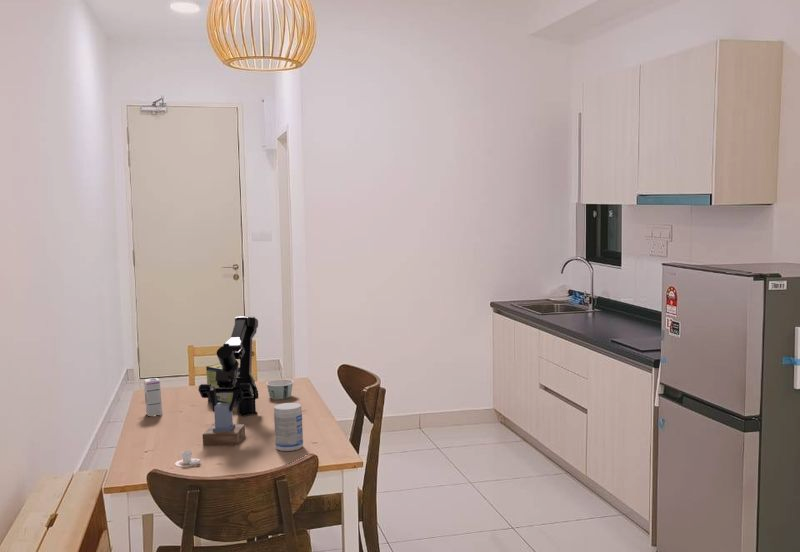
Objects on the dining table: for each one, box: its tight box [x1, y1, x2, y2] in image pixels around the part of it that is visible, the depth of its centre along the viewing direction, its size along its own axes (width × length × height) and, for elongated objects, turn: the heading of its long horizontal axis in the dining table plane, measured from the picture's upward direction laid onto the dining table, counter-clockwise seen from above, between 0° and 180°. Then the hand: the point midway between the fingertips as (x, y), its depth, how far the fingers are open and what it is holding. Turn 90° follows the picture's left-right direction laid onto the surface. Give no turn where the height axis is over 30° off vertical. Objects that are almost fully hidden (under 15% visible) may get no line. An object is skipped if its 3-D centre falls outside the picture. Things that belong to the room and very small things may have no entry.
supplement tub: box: [273, 402, 304, 452], centre depth 260 cm, size 10×10×15 cm
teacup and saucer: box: [174, 449, 202, 468], centre depth 247 cm, size 9×8×4 cm
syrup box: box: [143, 377, 163, 417], centre depth 305 cm, size 6×6×14 cm
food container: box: [265, 378, 294, 400], centre depth 330 cm, size 12×12×6 cm
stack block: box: [202, 423, 246, 446], centre depth 270 cm, size 12×12×4 cm
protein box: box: [205, 363, 240, 403], centre depth 324 cm, size 10×16×16 cm
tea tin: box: [213, 403, 236, 432], centre depth 270 cm, size 6×6×9 cm
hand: (222, 411), depth 268 cm, fingers open, 6 cm apart
